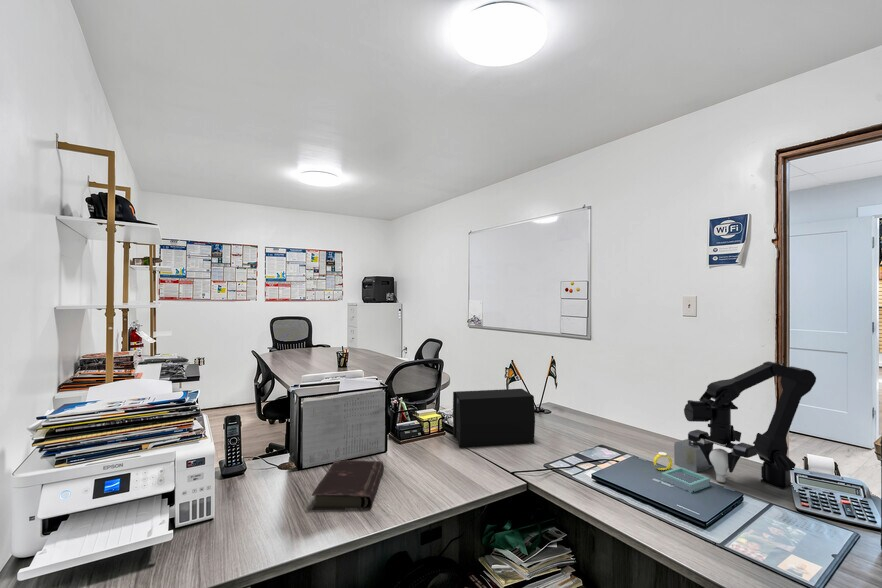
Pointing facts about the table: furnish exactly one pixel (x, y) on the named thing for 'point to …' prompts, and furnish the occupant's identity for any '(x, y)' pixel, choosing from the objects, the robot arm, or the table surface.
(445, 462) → the table surface
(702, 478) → the tray
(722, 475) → the lightbulb
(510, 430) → the uninterruptible power supply
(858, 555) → the table surface
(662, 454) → the watch
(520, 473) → the table surface
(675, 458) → the unit
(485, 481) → the table surface
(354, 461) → the diary
